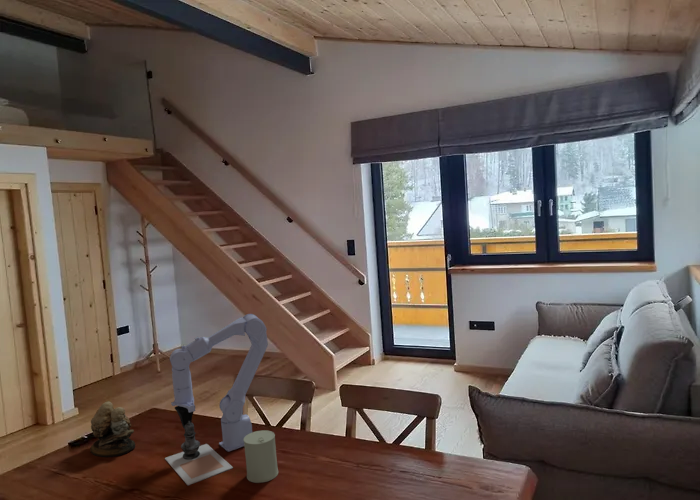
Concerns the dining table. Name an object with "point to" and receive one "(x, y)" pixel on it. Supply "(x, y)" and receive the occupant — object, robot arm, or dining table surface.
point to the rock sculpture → (111, 431)
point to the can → (260, 456)
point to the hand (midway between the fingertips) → (187, 427)
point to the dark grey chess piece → (190, 443)
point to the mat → (198, 465)
